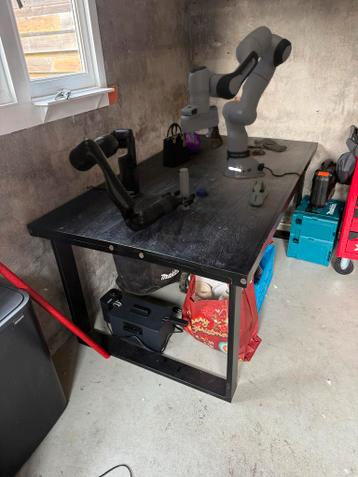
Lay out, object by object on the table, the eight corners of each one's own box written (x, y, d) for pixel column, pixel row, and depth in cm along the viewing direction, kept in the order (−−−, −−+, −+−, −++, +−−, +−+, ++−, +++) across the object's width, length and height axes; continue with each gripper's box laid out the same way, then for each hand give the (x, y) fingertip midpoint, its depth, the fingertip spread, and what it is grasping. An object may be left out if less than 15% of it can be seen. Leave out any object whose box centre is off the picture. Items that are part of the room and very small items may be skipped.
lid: (195, 193, 168) (194, 189, 167) (203, 192, 170) (203, 188, 169) (199, 197, 164) (198, 193, 163) (208, 195, 166) (208, 191, 165)
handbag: (173, 167, 206) (170, 126, 194) (161, 166, 211) (158, 125, 198) (190, 158, 221) (188, 120, 209) (178, 157, 225) (176, 119, 213)
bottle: (190, 206, 155) (188, 167, 146) (190, 210, 152) (188, 170, 142) (181, 206, 156) (179, 167, 146) (181, 210, 152) (179, 170, 143)
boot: (223, 140, 259) (224, 113, 249) (220, 148, 239) (221, 119, 229) (212, 140, 261) (212, 113, 251) (208, 148, 241) (208, 120, 231)
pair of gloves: (252, 157, 216) (252, 149, 214) (231, 148, 237) (231, 141, 234) (288, 150, 226) (289, 142, 223) (266, 142, 247) (266, 135, 244)
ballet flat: (269, 188, 169) (270, 173, 165) (265, 208, 149) (266, 191, 145) (252, 187, 171) (253, 172, 167) (246, 206, 151) (247, 190, 147)
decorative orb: (204, 151, 235) (204, 129, 228) (194, 156, 225) (193, 134, 217) (186, 149, 243) (186, 128, 235) (175, 154, 232) (174, 132, 224)
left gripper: (178, 201, 135) (199, 188, 146) (151, 195, 143) (174, 183, 154) (179, 218, 139) (199, 204, 150) (153, 210, 146) (174, 198, 157)
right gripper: (212, 103, 154) (213, 133, 161) (177, 110, 144) (179, 142, 151) (221, 104, 149) (222, 135, 156) (186, 112, 139) (188, 144, 146)
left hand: (186, 193), depth 152 cm, fingers open, 8 cm apart
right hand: (201, 139), depth 153 cm, fingers open, 8 cm apart
